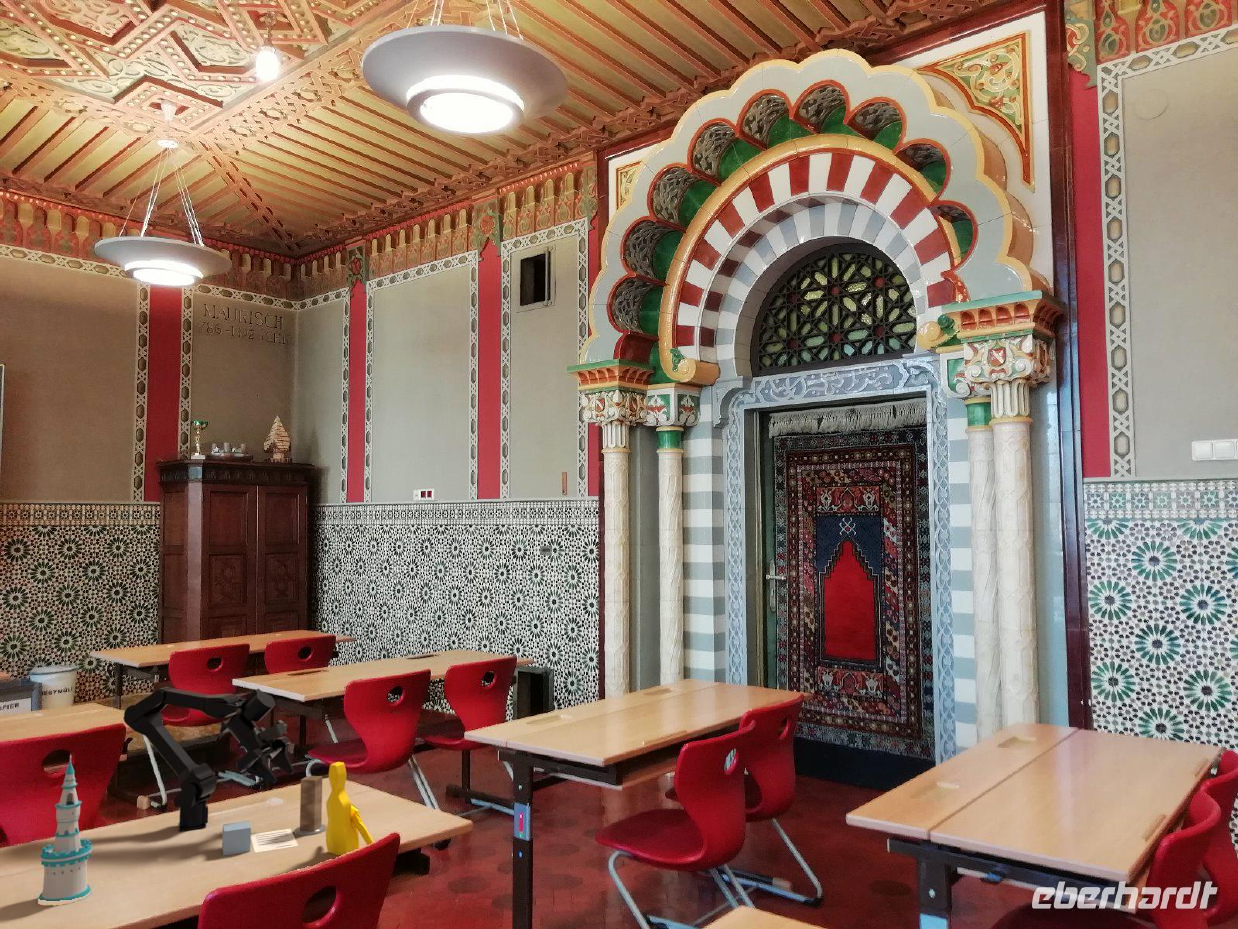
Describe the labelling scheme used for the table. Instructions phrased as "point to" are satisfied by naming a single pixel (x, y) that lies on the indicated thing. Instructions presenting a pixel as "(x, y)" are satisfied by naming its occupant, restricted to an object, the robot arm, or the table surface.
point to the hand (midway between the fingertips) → (284, 777)
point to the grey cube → (236, 838)
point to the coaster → (320, 830)
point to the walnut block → (311, 803)
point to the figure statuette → (342, 816)
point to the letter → (273, 840)
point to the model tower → (66, 849)
